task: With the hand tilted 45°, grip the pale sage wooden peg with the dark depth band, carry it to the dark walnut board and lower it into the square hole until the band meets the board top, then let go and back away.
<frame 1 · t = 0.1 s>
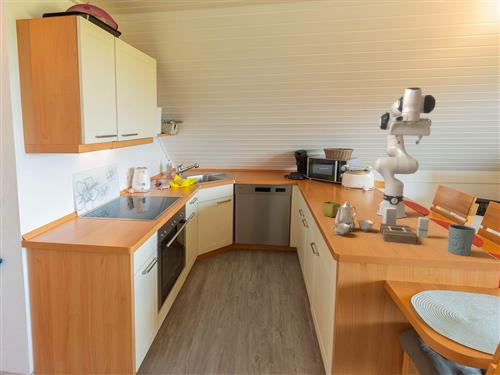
hand: (407, 144, 172), 48 cm above the countertop, tool pointing down, fingers open, 8 cm apart
flower pot: (330, 216, 204), on the countertop
blue-grey embossed planter: (458, 252, 143), on the countertop
socket board: (396, 236, 164), on the countertop
chinaware: (348, 231, 173), on the countertop
skincare box: (388, 228, 179), on the countertop
sage peg: (421, 236, 165), on the countertop
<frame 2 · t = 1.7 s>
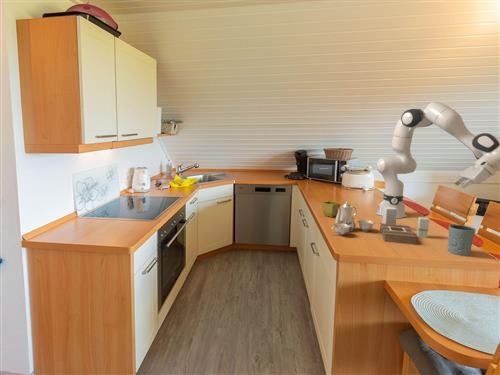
hand: (458, 185, 157), 28 cm above the countertop, tool tilted 45°, fingers open, 8 cm apart
nothing on the countertop moved.
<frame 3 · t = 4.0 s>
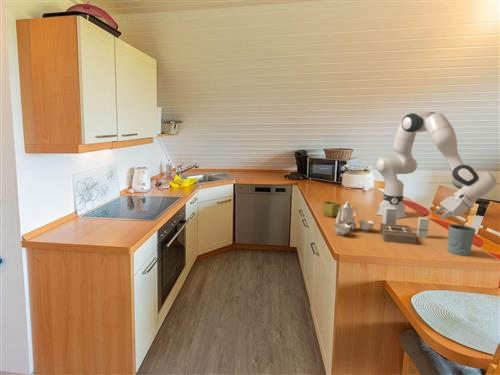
hand: (438, 215, 162), 12 cm above the countertop, tool tilted 45°, fingers open, 8 cm apart
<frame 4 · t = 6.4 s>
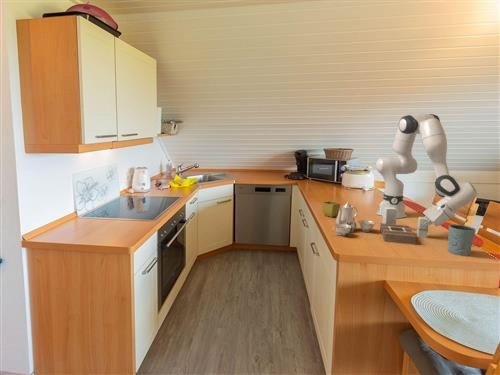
hand: (421, 224, 165), 6 cm above the countertop, tool tilted 45°, fingers closed on sage peg, 4 cm apart
sage peg: (421, 236, 165), on the countertop, touching gripper
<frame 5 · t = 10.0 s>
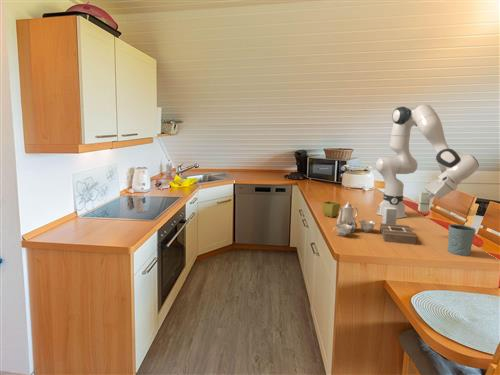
hand: (423, 198, 162), 20 cm above the countertop, tool tilted 45°, fingers closed on sage peg, 4 cm apart
sage peg: (423, 211, 163), point 14 cm above the countertop, touching gripper
when the fingers open (7 cm above the countertop, at t = 13.7 s): sage peg stays where it is, resting in socket board.
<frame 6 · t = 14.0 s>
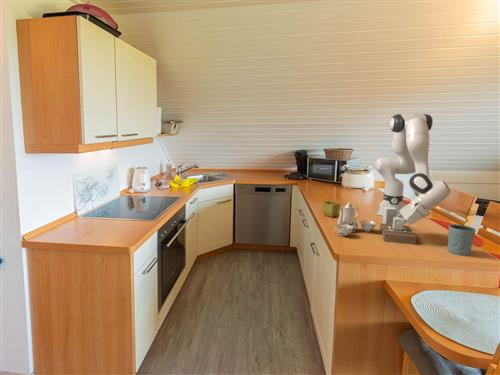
hand: (396, 223, 163), 7 cm above the countertop, tool tilted 45°, fingers open, 7 cm apart
sage peg: (396, 236, 164), resting in socket board
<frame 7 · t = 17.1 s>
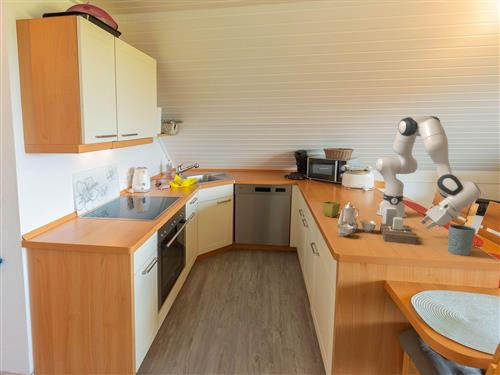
hand: (423, 225, 160), 7 cm above the countertop, tool tilted 45°, fingers open, 8 cm apart
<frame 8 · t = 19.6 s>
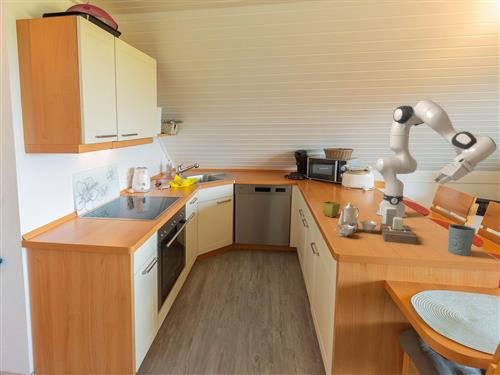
hand: (438, 182, 158), 29 cm above the countertop, tool tilted 45°, fingers open, 8 cm apart
at the end: sage peg 0.1 cm off-centre on the socket board, point 0.0 cm above the socket board's base; sage peg tilted 0°; the gripper is holding nothing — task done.
